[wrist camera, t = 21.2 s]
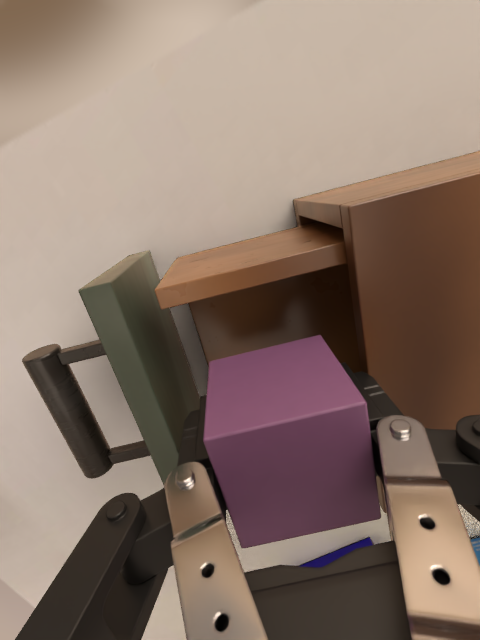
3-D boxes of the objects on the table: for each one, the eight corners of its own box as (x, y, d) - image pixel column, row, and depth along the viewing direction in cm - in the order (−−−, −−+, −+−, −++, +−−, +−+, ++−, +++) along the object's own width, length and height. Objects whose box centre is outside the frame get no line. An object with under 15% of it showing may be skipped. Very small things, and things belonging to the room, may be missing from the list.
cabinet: (328, 402, 23) (384, 513, 15) (292, 199, 18) (347, 205, 10) (525, 356, 23) (693, 446, 15) (543, 134, 18) (809, 86, 10)
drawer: (126, 450, 23) (88, 551, 16) (43, 277, 18) (-52, 323, 12) (377, 392, 22) (441, 473, 16) (356, 196, 18) (433, 199, 11)
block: (236, 448, 15) (241, 550, 11) (208, 360, 13) (201, 440, 9) (336, 425, 15) (382, 519, 10) (320, 333, 13) (367, 401, 9)
